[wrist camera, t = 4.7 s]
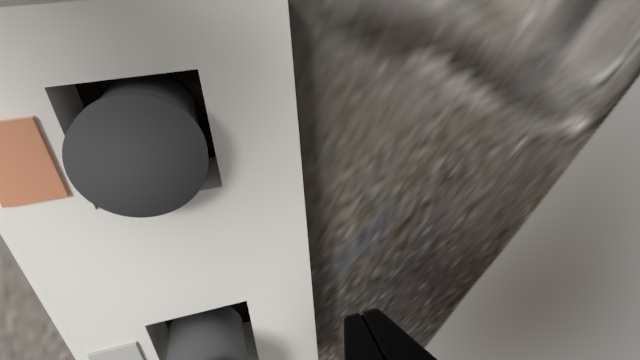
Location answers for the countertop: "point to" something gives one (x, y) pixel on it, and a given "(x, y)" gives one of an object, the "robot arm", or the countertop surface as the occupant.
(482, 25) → the countertop surface
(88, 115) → the near button
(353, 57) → the countertop surface
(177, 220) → the panel
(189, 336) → the far button
